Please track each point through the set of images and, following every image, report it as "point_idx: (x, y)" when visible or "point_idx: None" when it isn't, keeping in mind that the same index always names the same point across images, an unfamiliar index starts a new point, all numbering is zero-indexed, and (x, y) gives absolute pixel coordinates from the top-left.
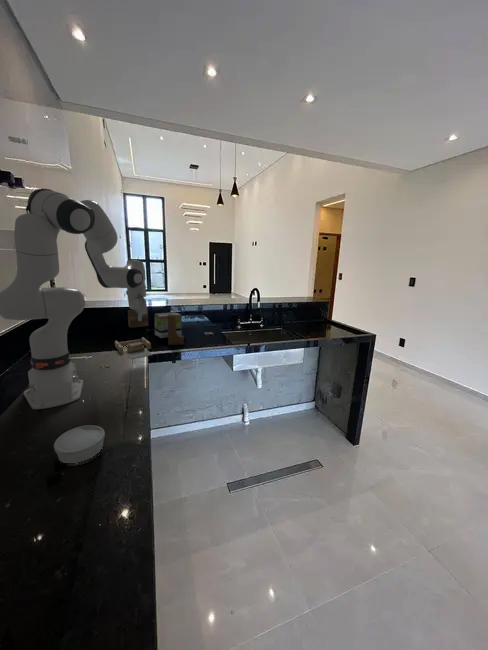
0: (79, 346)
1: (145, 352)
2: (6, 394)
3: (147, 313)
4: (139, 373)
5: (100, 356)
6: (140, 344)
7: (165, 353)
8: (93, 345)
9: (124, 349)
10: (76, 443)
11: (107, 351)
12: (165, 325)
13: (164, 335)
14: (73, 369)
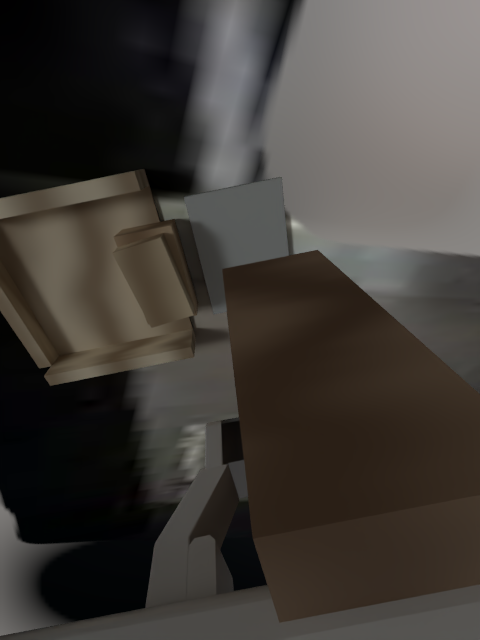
0: (52, 471)
1: (222, 218)
2: None
3: (441, 376)
4: (476, 271)
5: (203, 403)
6: (168, 254)
7: (270, 68)
8: (38, 437)
9: (131, 324)
10: None
11: (140, 386)
12: None
13: None
14: None
